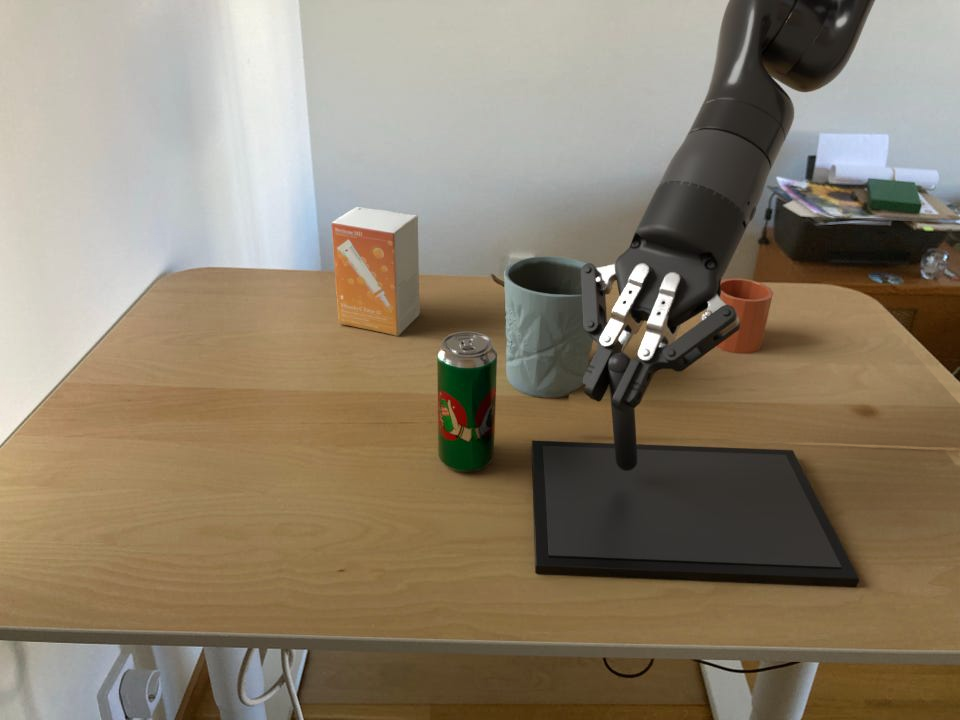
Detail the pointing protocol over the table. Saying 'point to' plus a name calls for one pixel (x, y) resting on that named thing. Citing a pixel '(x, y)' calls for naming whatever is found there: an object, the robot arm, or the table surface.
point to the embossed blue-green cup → (545, 326)
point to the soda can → (466, 401)
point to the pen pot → (746, 313)
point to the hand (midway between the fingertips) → (605, 402)
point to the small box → (376, 269)
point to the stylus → (622, 417)
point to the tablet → (682, 516)
